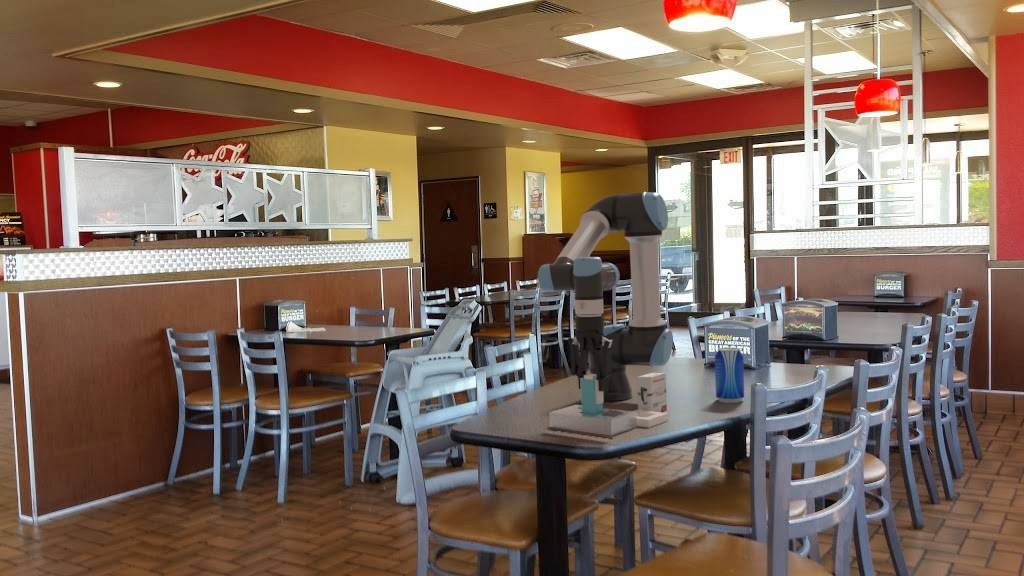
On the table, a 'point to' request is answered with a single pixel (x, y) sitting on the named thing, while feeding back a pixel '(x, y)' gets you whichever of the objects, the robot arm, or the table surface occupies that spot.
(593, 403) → the plug
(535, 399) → the table surface
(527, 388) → the table surface
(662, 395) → the ink box
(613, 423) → the port panel
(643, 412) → the holster
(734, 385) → the beer can
